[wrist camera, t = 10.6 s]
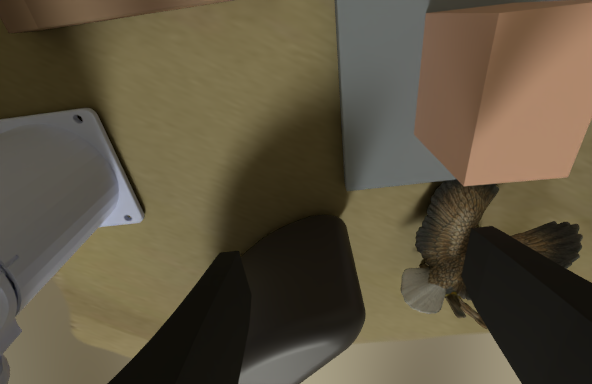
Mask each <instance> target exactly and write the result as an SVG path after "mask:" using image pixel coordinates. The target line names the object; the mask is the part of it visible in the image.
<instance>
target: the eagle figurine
mask: <svg viewBox="0 0 592 384" xmlns="http://www.w3.org/2000/svg"><path fill="white" fill-rule="evenodd" d="M498 191H499V188H498V187H497V186H495V184H485V185H473V186H463V185H462V184H461V183H460V182H459V181H458V180H457V179H454V180H445V181H444V182H443V183H442V184H441V185H440V187H439V188H437V189H436V190H435V193H434V195H432V197H431V204H430V205H429V207H428V208H427V214H428V215H426V216H425V219H424V221H423V222H422V227H419V230H418V231H417V232H416V244H415V246H416V247H417V251H418V252H420V253H421V255H422V257H423V258H424V259H426V264H428V265H429V266H428V265H426V264H423V265H420V268H409V269H406V270H404V272H403V275H402V285H401V293H402V295H403V297H404V300H405V302H406V303H407V304H408V305H409V306H410V307H411V308H412V309H415V310H417V311H419V312H423V313H427V314H430V313H437V312H439V311H440V310H441V307H442V304H443V301H444V297H445V298H446V300H447V301H448V303H449V305H450V307H451V308H452V310H453V312H454V314H455V315H456V317H458V318H462V317H463V318H465V317H466V315H465V314H464V312H465V313H467V314H468V315H470V316H471V317H472V318H474V319H475V321H476V322H477V323H478V324H479V325H481V326H482V327H483V328H485V329H487V326H486V325H485V323H484V321H483V320H482V318H481V317H480V315H479V313H477V312H476V311H474V310H473V309H472V308H471V307H470V306H469V305H468V304H466V303H465V302H463V301H462V300H461V298H462V299H465V298H466V299H467V300H471V298H470V296H469V293H468V291H467V289H466V287H465V284H464V282H463V280H462V277H461V275H462V270H463V265H464V260H465V256H466V251H467V246H468V241H469V236H470V231H471V228H476V226H477V224H478V223H479V221H480V219H481V217H482V215H483V213H484V211H485V210H486V208H487V206H488V205H489V204H490V202H491V201H492V200H493V198H494V197H495V196H496V194H497V193H498ZM578 231H579V225H578V224H573V225H570V223H568V222H563V223H560V224H558V225H557V223H556V222H555V221H553V222H550V223H547V224H544V225H542V226H540V227H537V228H535V229H532V230H529V231H526V232H524V233H518V234H515V235H512V236H511V237H513V238H514V239H516V240H518V241H519V242H521V243H523V244H525V245H526V246H528V247H530V248H531V249H533V250H535V251H536V252H538V253H540V254H542V255H543V256H545V257H547V258H548V259H550V260H552V261H554V262H555V263H557V264H559V265H561V266H562V267H564V268H566V269H567V268H568V267H569V266H571V265H572V262H574V261H575V260H577V259H578V258H579V257H580V256H579V254H578V252H579V251H580V250H581V248H582V245H581V243H580V241H581V240H582V238H583V237H582V235H581V234H578ZM460 296H461V297H460ZM471 301H472V300H471ZM463 311H464V312H463Z"/></svg>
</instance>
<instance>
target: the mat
mask: <svg viewBox="0 0 592 384" xmlns="http://www.w3.org/2000/svg"><path fill="white" fill-rule="evenodd" d="M540 1H561V0H335V15H336V34H337V52H338V70H339V89H340V107H341V125H342V144H343V162H344V180H345V187H346V190H347V191H353V190H363V189H372V188H381V187H390V186H399V185H409V184H418V183H427V182H436V181H445V180H454V179H456V178H455V177H454V176H453V175H452V174H451V173H450V172H449V171H448V170H447V169H446V167H445V166H444V165H443V164H442V163H441V162H440V161H439V160H438V159H437V158H436V157H435V156H434V155H433V154H432V153H431V152H430V151H429V150H428V149H427V148H426V147H425V146H424V145H423V144H422V142H421V141H420V140H419V139H418V138H417V137H416V136H415V135H414V128H415V118H416V108H417V98H418V88H419V77H420V67H421V57H422V47H423V37H424V27H425V16H426V13H431V12H440V11H448V10H457V9H465V8H474V7H482V6H490V5H499V4H507V3H519V2H540Z"/></svg>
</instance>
